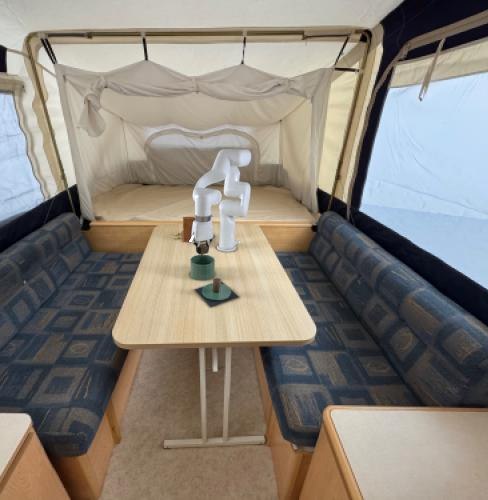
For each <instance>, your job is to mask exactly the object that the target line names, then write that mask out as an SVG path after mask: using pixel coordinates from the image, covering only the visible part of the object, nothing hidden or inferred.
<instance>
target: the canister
mask: <svg viewBox="0 0 488 500" xmlns="http://www.w3.org/2000/svg"><path fill="white" fill-rule="evenodd" d="M189 267H190V268H189V269H190V271H189V272H190V277H191V278H192V279H194V280H196V281H208V280H211V279H213V278H214V277H215V273H216V272H215V271H216V260H215V258H214V256H212V255H209V254H203V255H201V254H197V255H194V256H192V257H191V258H190V259H189Z"/></svg>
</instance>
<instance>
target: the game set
mask: <svg viewBox="0 0 488 500" xmlns="http://www.w3.org/2000/svg"><path fill="white" fill-rule="evenodd" d="M194 220H195V215H194V216H182V231H181V234H182V242H185V243H186V242H188V243H189V242H190V240H191V238H192V226H193V221H194ZM179 234H180V233H179V232H176V233H175V232H174V236H175V237H174V239H176V240H178V239H180V237H179ZM194 242H195V240H194Z"/></svg>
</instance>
